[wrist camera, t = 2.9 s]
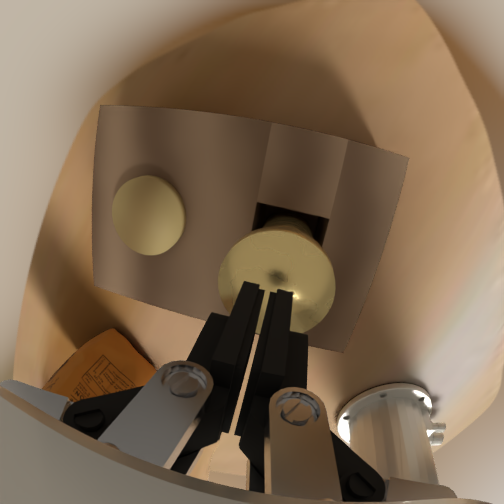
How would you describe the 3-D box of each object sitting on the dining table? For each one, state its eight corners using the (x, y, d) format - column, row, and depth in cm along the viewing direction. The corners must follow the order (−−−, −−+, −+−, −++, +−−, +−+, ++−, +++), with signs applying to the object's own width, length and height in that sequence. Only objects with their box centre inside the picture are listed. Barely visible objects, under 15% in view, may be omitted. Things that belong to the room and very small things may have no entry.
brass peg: (335, 207, 19) (350, 248, 12) (315, 279, 21) (316, 347, 14) (256, 189, 20) (227, 219, 13) (242, 262, 22) (211, 322, 15)
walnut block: (379, 151, 23) (413, 158, 15) (336, 299, 28) (344, 359, 20) (152, 109, 25) (93, 104, 17) (138, 251, 30) (88, 290, 22)
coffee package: (71, 343, 38) (-21, 443, 18) (118, 315, 34) (0, 448, 14) (114, 392, 40) (42, 500, 20) (168, 376, 36) (89, 520, 16)
